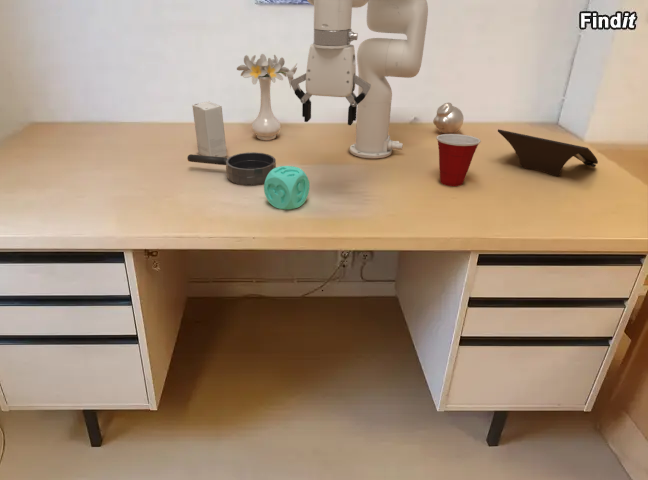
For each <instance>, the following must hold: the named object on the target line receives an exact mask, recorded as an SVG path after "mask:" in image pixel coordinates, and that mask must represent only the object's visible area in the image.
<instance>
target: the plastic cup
mask: <svg viewBox="0 0 648 480" xmlns="http://www.w3.org/2000/svg"><path fill="white" fill-rule="evenodd" d="M435 138H436V140H437V145H438V165H439V166H438V169H439V181H440V183H441V184H442V185H443V186H447V187H460V186H462V185H463V184H464V182H465V179H466V176H467V173H468V171H469V170H470V167H471V163H472V161H473V158H474V155H475V153H476V150H477V148H478V146H479V145H480V143H481V142H482V140H481V138H478V137H476V136H473V135H468V134H461V133H453V134H443V133H442V134H439V135H437V136H436V137H435Z"/></svg>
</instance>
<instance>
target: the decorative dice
mask: <svg viewBox="0 0 648 480" xmlns="http://www.w3.org/2000/svg"><path fill="white" fill-rule="evenodd" d="M310 185H311V184H310V180H309V177H308V176H307V174H306V172H305V171H304V170H303V169H302V168H300V167H297V166H295V165H294V166H292V165H281V166H280V165H279V166H276V168H274V169H272V170H271V171H270V172H269V174H268V175H267V177H266V180H265V183H264V184H263V192H264V197H265V199H266V200H267V202H268V203H269V204H270V205H271V206H272V207H274V208H275V209H279V210H295V209H298V208H300V207H301V206H303V205H304V203H305V202H306V201H307V198H308V196H309V193H310V187H311V186H310Z"/></svg>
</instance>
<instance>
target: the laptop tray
mask: <svg viewBox="0 0 648 480" xmlns="http://www.w3.org/2000/svg"><path fill="white" fill-rule="evenodd" d="M497 132H498V133H499V134H500V135H501V136H502V137H503V138H504V139H505V140H506V142H508V144H510V146H511V147H512V149H513V150H514V152H515V154H516V156H517V158H518V161H519V165H520V167H521V168H522V169H525V170H533V171H539V172H543V173H546V174H549V175H552V176H555V177H560V175H561V173H562V170H563V168H564V166H565V165H566V164H567V162H568V161H570V160H571V159H572V158H573V157H574V158H576V159H577V160H578V161H580V162H582V163H583V164H584V165H585V166H588V167H591V168H596V166H597V165H598V164H599V161H598V158H597V157H596V155H595V153H593V152H592V151H591V149H590V148H589V147H586V146H581V145H576V144H572V143H567V142H561V141H558V140H552V139H549V138H548V139H547V138H543V137H538V136H534V135H533V136H532V135H528V134H523V133H518V132H515V131H508V130H503V129H499V128H498V129H497Z"/></svg>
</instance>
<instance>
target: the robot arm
mask: <svg viewBox="0 0 648 480" xmlns="http://www.w3.org/2000/svg"><path fill="white" fill-rule="evenodd" d="M306 1H307V2H308V3H309V4H310V5H311V6H313V35H312V36H313V37H312V38H313V41H312V42H313V43H311V44H310V45H309V51H308V56H307V61H306V62H307V63H306V72H305V73H302V74H301V75H299V76H297V77H295V78H293V80H292V81H291V82H290V84H291V88H292V90H293V93H294V95H295V96H296V97H297V99H298V100H300V103H301V104H302V105H301V106H302V108H301V109H302V110H301V111H302V113H301V116H302V118H304V119H303V120H304V122H305V123H308V122H309V121H310V120H311V119H312V101H311V99H310V98H311V97H312V96H316V97H318V96H319V97H331V98H345V99H346V100H347V101H348V103H349V106H348V110H347V125H348V126H352V125H353V123H354V122H355V121H356V123H355V124H356V125H355V140H354V141H355V142H354V143H353V144H351V145H350V146H349V153H350V154H351V155H353V156H355V157H357V158H361V159H370V160H371V159H375V160H376V159H383V158H386V157H387V158H388V157H389V156H391V155H392V154H393V150H398V151H399V150H400V151H402V150H403V146H404V144H403V142H400V140H392V139H391V135H390V134H389V132H390V122H391V121H390V120H391V110H392V109H391V108H392V100H393V91H392V87H391V85H390V83H389V81H388V79H387V78H386V77H392V78H406V79H409V78H414V77H417V75H418V74H419V72H420V70H421V67H422V62H423V57H424V56H423V55H424V49H425V40H426V34H427V33H426V32H427V26H428V16H429V6H428V1H427V0H306ZM366 5H367V7H366V8H367V9H366V26H367V28H368V29H369V30H370V31H372V32H375V33H382V34H400V35H401V34H402V35H405V36H406V39H401V38H399V39H398V38H387V37H386V38H385V37H372V38H367V39H365V40H363V41H362V42H361V43H360V44H358V45H359V46H358V48H357V52H356V51H355V45H354V44H351V42H353V41H358V37H359V34H358V32H354V31H353V30H352V14H353V8H354V9H358V8H362V7H364V6H366ZM356 60H357V61H356ZM356 62H357V63H356ZM356 65H357V68H356ZM356 69H357V75H356ZM304 82H305V91H306V92H305V91H304V90H303V89H302V88H301V86H300V84H301V83H304ZM290 84H289V85H290ZM356 85H357V86H358V90H357V95H356V94H355V89H356Z"/></svg>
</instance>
